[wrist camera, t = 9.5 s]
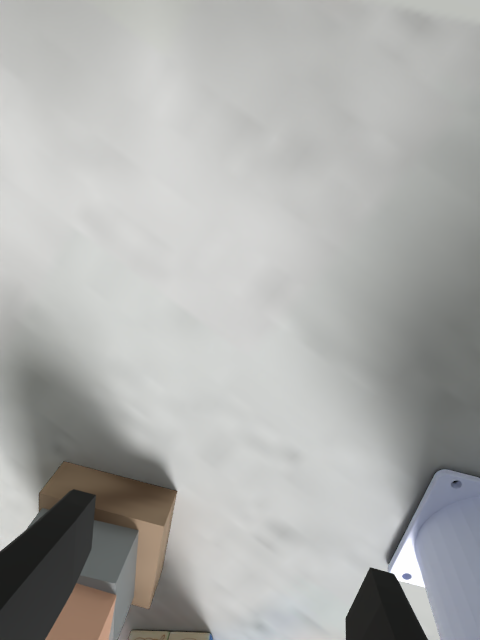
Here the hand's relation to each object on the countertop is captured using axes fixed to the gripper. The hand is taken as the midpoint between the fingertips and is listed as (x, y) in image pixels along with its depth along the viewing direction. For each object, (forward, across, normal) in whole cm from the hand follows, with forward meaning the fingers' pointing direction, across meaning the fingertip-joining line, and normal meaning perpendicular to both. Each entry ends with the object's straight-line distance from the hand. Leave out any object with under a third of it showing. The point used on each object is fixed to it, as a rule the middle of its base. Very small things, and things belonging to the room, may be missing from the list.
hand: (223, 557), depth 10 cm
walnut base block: (+11, +6, +13) cm, 18 cm away
